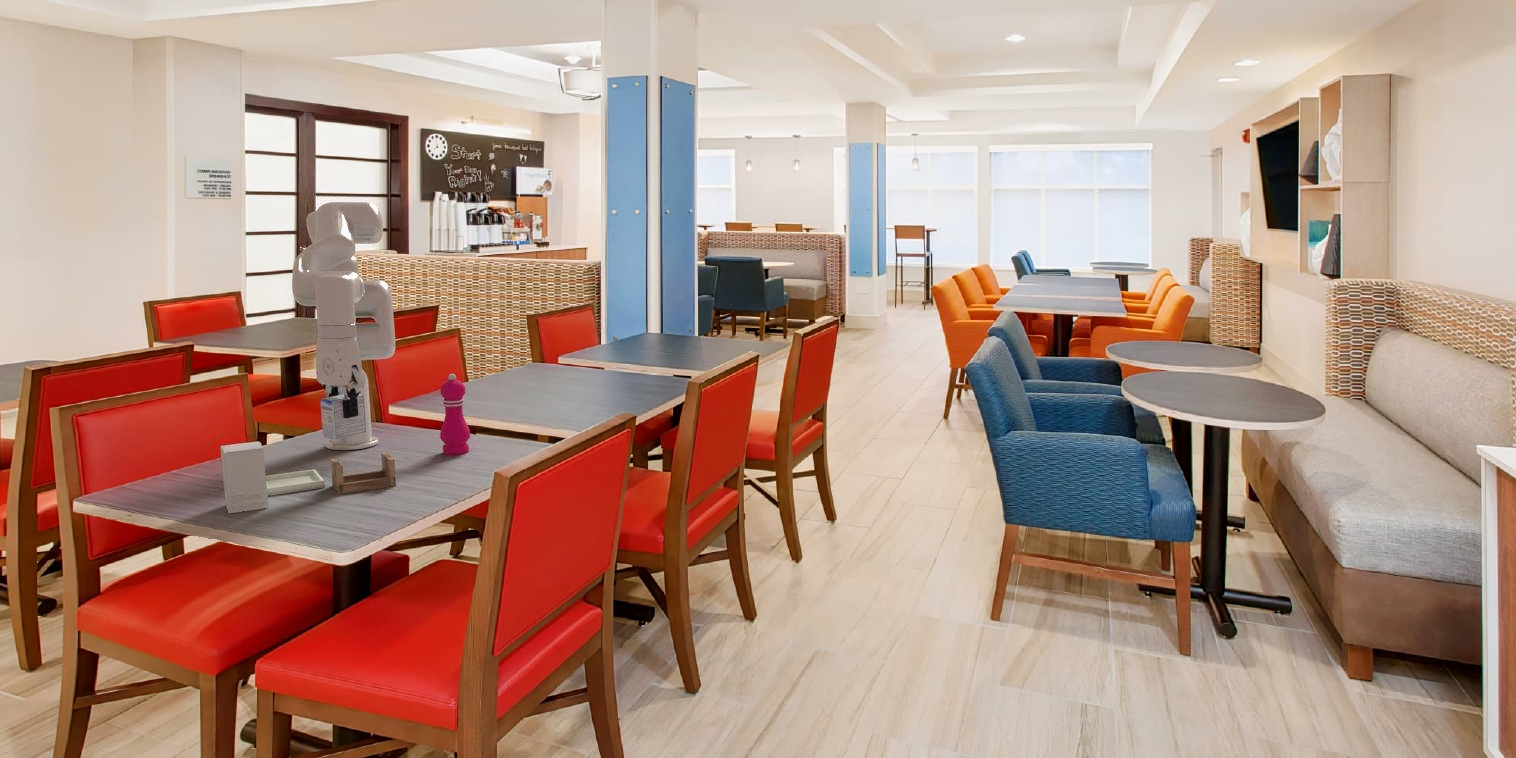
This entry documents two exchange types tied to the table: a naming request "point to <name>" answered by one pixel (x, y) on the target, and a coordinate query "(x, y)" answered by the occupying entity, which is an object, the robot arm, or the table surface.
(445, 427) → the pepper mill
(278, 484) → the tray
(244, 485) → the supplement box
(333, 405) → the medicine box
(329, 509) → the table surface
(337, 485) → the holder
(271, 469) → the table surface
